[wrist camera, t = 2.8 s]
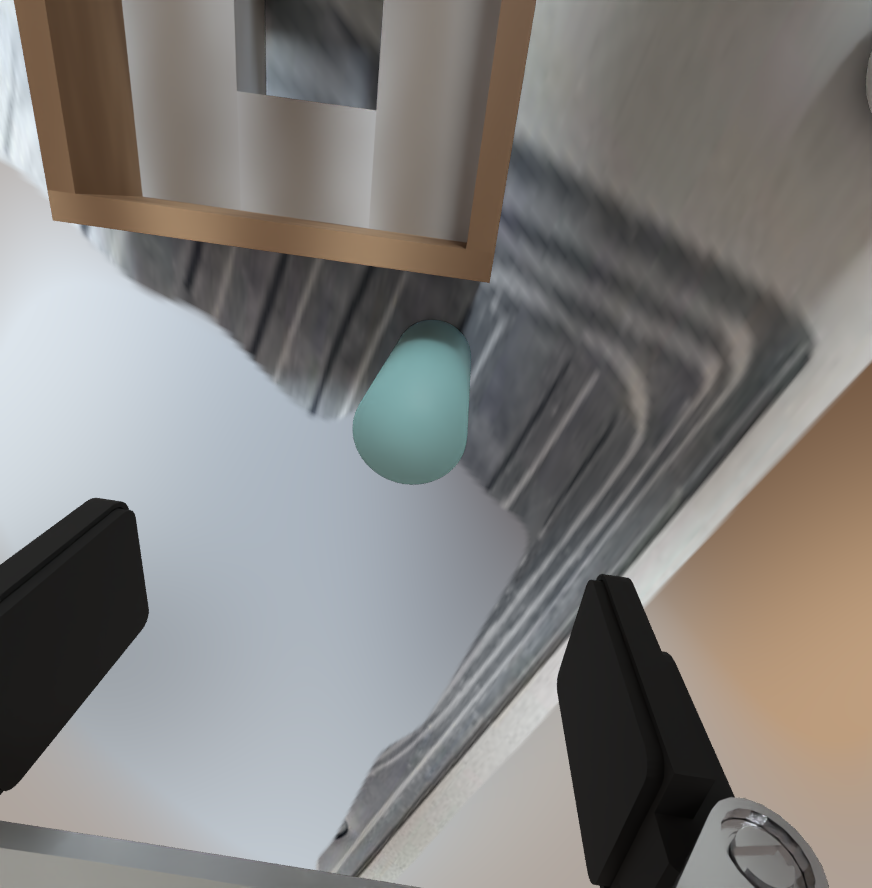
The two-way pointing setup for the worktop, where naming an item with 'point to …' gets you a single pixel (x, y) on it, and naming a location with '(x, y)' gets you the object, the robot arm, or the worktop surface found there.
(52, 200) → the box
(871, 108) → the plastic bottle
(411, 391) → the peg
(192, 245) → the worktop surface
